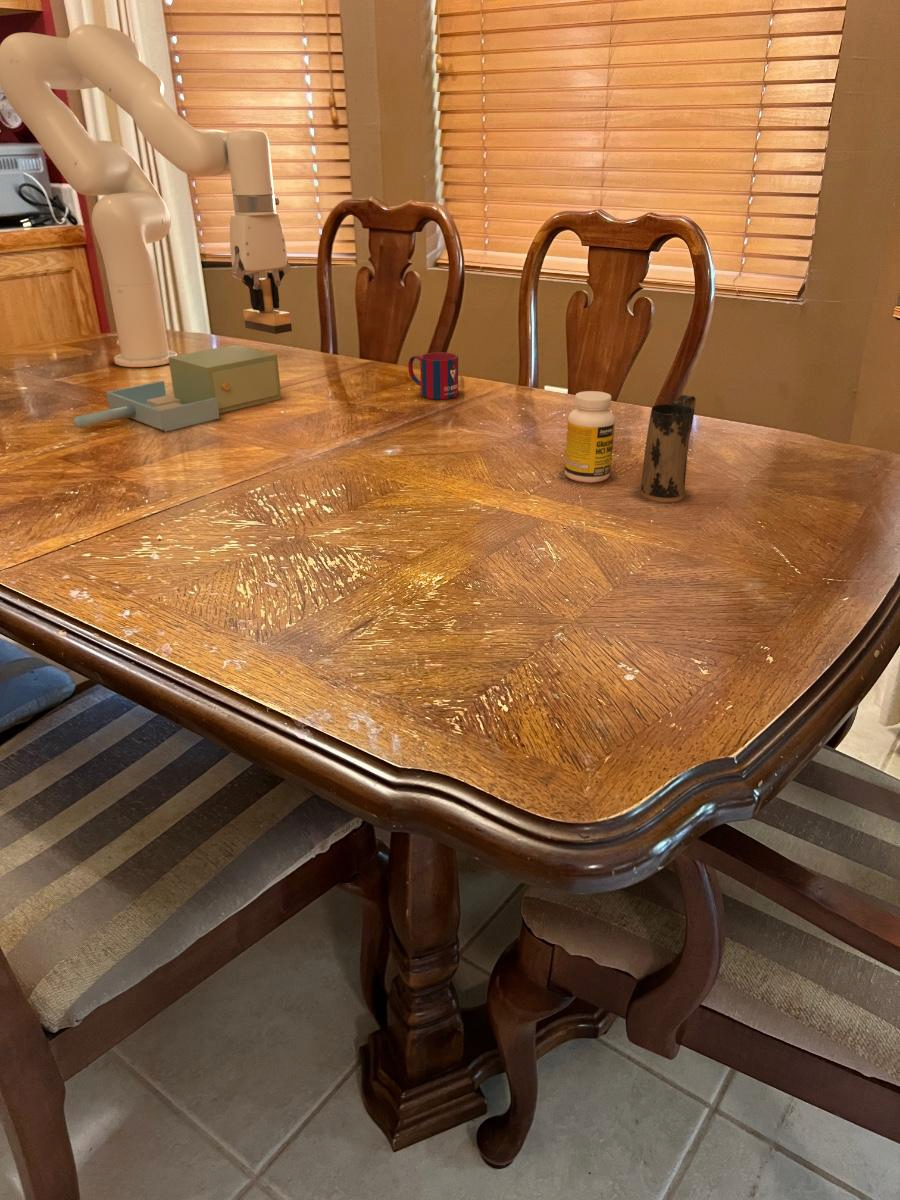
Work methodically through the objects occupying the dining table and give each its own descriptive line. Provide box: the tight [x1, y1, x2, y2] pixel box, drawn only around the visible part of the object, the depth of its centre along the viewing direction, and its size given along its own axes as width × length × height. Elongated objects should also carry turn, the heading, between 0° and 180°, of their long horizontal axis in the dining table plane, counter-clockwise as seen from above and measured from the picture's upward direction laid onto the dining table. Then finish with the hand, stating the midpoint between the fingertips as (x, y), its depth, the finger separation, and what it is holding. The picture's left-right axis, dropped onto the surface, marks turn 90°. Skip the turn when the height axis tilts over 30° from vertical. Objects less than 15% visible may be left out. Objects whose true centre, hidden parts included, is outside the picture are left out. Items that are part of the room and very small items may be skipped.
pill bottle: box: [563, 390, 616, 484], centre depth 114 cm, size 6×6×11 cm
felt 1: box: [146, 395, 180, 408], centre depth 145 cm, size 4×4×2 cm
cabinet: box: [168, 344, 282, 415], centre depth 149 cm, size 13×14×8 cm
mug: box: [640, 394, 697, 503], centre depth 108 cm, size 8×6×12 cm
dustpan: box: [72, 380, 220, 433], centre depth 139 cm, size 20×17×3 cm
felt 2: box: [154, 403, 181, 410], centre depth 141 cm, size 4×4×2 cm
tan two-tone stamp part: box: [242, 277, 293, 335], centre depth 167 cm, size 10×4×10 cm, turn 47°
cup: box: [407, 351, 459, 400], centre depth 154 cm, size 7×10×7 cm
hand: (265, 308), depth 168 cm, fingers closed on tan two-tone stamp part, 2 cm apart
